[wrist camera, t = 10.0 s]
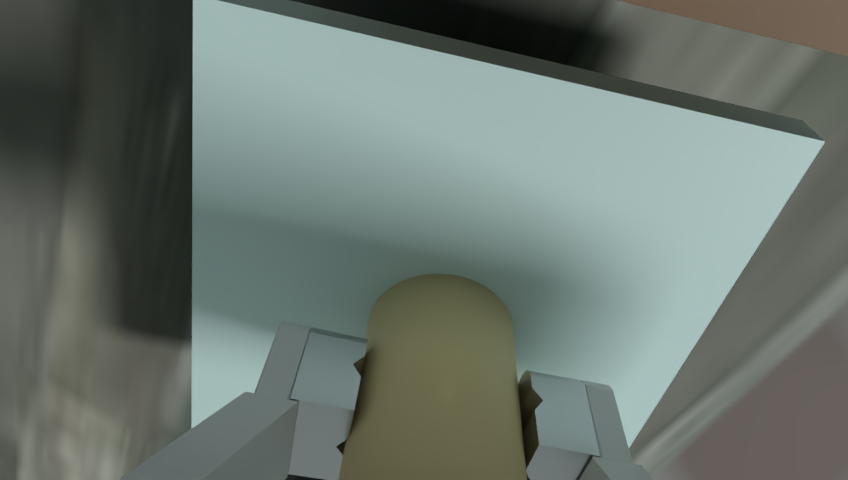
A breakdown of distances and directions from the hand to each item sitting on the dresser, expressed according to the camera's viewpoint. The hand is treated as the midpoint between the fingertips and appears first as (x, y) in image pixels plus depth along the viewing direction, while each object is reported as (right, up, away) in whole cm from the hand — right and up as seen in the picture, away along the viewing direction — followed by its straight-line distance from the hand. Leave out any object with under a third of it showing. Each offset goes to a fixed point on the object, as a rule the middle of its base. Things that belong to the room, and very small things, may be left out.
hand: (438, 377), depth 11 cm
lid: (0, +1, +2) cm, 2 cm away
